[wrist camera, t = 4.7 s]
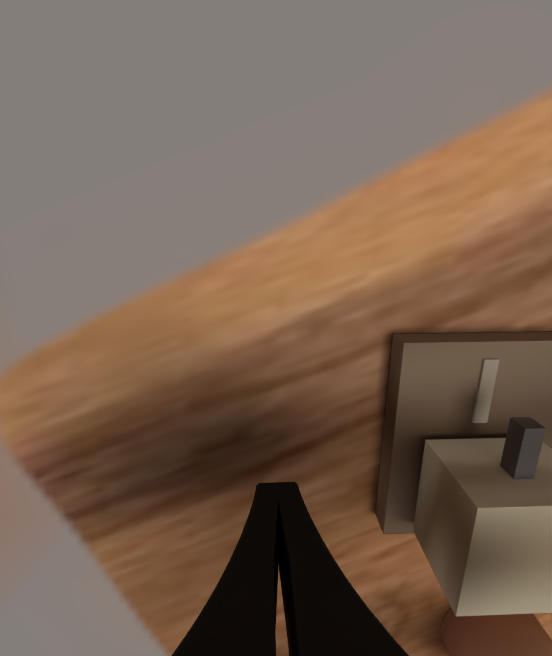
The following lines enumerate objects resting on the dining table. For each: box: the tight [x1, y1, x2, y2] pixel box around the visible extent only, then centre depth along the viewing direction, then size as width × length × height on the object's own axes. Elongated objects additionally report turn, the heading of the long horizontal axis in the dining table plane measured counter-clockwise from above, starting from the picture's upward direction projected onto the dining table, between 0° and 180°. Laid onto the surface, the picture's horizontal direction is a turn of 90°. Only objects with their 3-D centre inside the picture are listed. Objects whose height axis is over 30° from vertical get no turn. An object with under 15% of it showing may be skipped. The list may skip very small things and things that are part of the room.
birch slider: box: [413, 417, 552, 616], centre depth 11 cm, size 6×4×3 cm
